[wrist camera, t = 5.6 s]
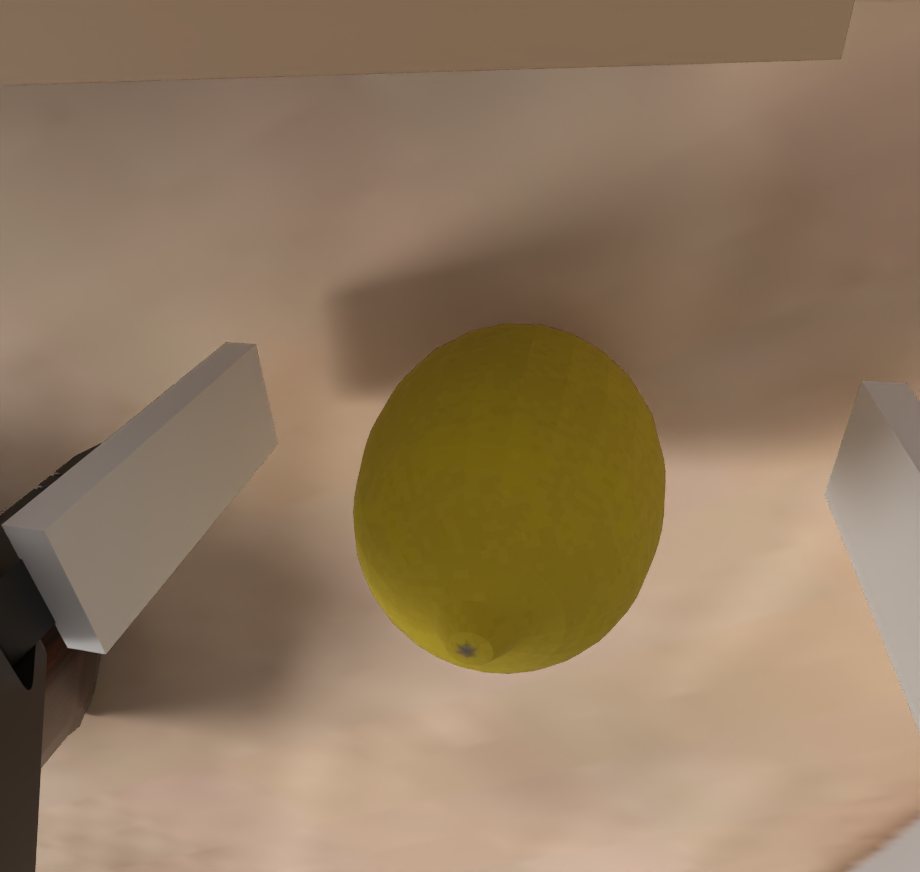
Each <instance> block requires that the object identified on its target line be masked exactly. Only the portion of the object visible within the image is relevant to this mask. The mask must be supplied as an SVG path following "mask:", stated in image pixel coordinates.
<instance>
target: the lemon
mask: <svg viewBox="0 0 920 872" xmlns="http://www.w3.org/2000/svg"><path fill="white" fill-rule="evenodd" d="M665 472H666V471H665V463H664V458H663V454H662V450H661V446H660V442H659V438H658V435H657V431H656V427H655V423H654V420H653V416H652V414H651V412H650V410H649V408H648V406H647V405H646V403H645V401H644V400H643V398H642V396H641V395H640V393H639V392H638V390H637V388H636V387H635V385H634V383H633V382H632V380H631V379H630V377H629V376H628V375H627V373H625V372H624V371H623V370H622V369H621V368H620V367H619V366H618V365H617V364H616V363H615V362H614V361H613V360H611V359H610V358H609V357H608V356H607V355H606V354H605V353H604V352H603V351H601V350H600V349H598V348H597V347H595V346H593V345H591V344H589V343H588V342H586V341H584V340H582V339H580V338H579V337H577V336H575V335H573V334H571V333H568V332H564V331H561V330H557V329H554V328H550V327H546V326H543V325H533V324H503V325H498V326H493V327H488V328H484V329H479V330H474V331H471V332H469V333H467V334H465V335H463V336H461V337H459V338H457V339H455V340H453V341H451V342H449V343H447V344H445V345H443V346H441V347H439V348H437V349H436V350H434V351H433V352H432V353H431V354H429V355H428V356H427V357H426V358H425V359H424V360H423V361H422V362H421V363H419V364H418V365H417V366H416V367H415V368H414V369H413V370H412V371H411V372H410V373H409V374H407V375H406V376H405V378H404V379H403V380H402V381H401V382H400V383H399V384H398V386H397V387H396V389H395V390H394V391H393V393H392V395H391V396H390V398H389V400H388V401H387V403H386V405H385V406H384V408H383V410H382V411H381V413H380V415H379V416H378V418H377V420H376V422H375V424H374V426H373V428H372V430H371V432H370V435H369V437H368V440H367V443H366V447H365V450H364V454H363V458H362V463H361V467H360V472H359V476H358V481H357V486H356V491H355V497H354V510H353V516H354V529H355V538H356V547H357V555H358V558H359V562H360V565H361V568H362V571H363V573H364V575H365V578H366V580H367V583H368V585H369V588H370V590H371V592H372V594H373V595H374V597H375V599H376V600H377V602H378V603H379V605H380V606H381V607H382V609H383V610H384V611H385V613H386V614H387V616H388V617H389V618H390V620H391V621H392V622H393V623H394V624H395V625H396V626H397V627H398V628H399V629H400V630H401V631H402V632H403V633H404V634H406V635H407V636H408V637H409V638H410V639H411V640H412V641H413V642H415V643H416V644H417V645H418V646H420V647H421V648H423V649H425V650H426V651H428V652H430V653H431V654H433V655H435V656H436V657H438V658H440V659H443V660H445V661H448V662H450V663H452V664H455V665H457V666H460V667H464V668H468V669H472V670H477V671H481V672H489V673H505V674H510V673H519V672H528V671H535V670H539V669H543V668H546V667H549V666H552V665H555V664H558V663H561V662H564V661H567V660H569V659H571V658H572V657H574V656H576V655H578V654H580V653H581V652H583V651H584V650H586V649H587V648H589V647H591V646H592V645H594V644H595V643H597V642H599V641H600V640H601V639H602V638H603V637H604V636H605V635H606V634H607V633H608V632H609V631H610V630H611V629H612V628H613V627H614V626H615V625H616V624H617V622H618V621H619V620H620V619H621V618H622V617H623V616H624V615H625V613H626V612H627V611H628V610H629V608H630V607H631V605H632V604H633V602H634V601H635V599H636V597H637V595H638V593H639V591H640V589H641V586H642V584H643V582H644V579H645V577H646V575H647V572H648V570H649V567H650V565H651V563H652V560H653V558H654V555H655V552H656V549H657V546H658V543H659V539H660V535H661V531H662V524H663V516H664V499H665Z"/></svg>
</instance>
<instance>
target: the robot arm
mask: <svg viewBox="0 0 920 872" xmlns="http://www.w3.org/2000/svg"><path fill="white" fill-rule="evenodd" d="M277 445H278V440H277V436H276V431H275V427H274V422H273V418H272V414H271V409H270V405H269V400H268V396H267V391H266V387H265V382H264V378H263V374H262V369H261V365H260V360H259V356H258V351H257V347H256V344H245V343H228V342H226V343H225V344H223V345H222V346H221V347H220V348H218V349H217V350H216V351H215V352H213V353H212V354H211V355H210V356H209V357H207V358H206V359H205V360H204V361H202V362H201V363H200V364H199V365H197V366H196V367H195V368H194V369H193V370H191V371H190V372H189V373H188V374H186V375H185V376H184V377H183V378H181V379H180V380H179V381H178V382H177V383H175V384H174V385H173V386H172V387H170V388H169V389H168V390H167V391H165V392H164V393H163V394H162V395H161V396H159V397H158V398H157V399H156V400H154V401H153V402H152V403H151V404H150V405H148V406H147V407H146V408H145V409H143V410H142V411H141V412H140V413H138V414H137V415H136V416H135V417H134V418H132V419H131V420H130V421H129V422H127V423H126V424H125V425H124V426H122V427H121V428H120V429H119V430H118V431H116V432H115V433H114V434H113V435H111V436H110V437H109V438H108V439H106V440H105V441H104V442H103V443H100V444H98V445H96V446H94V447H92V448H90V449H88V450H86V451H84V452H82V453H80V454H78V455H76V456H75V457H73V458H72V459H71V460H70V461H68V462H67V463H66V464H65V465H63V466H62V467H61V468H59V469H58V470H57V471H56V472H54V473H55V475H54V476H49V477H48V478H47V479H46V480H44V481H43V482H42V483H41V484H39V485H38V489H33V490H32V491H31V492H29V493H28V494H27V495H26V496H24V497H23V498H22V499H21V500H19V501H18V502H17V503H16V504H14V505H13V506H12V507H11V508H9V509H8V510H7V511H6V512H4V513H3V514H2V515H1V516H0V872H35V865H36V847H37V829H38V810H39V792H40V774H41V756H42V737H43V719H44V701H45V683H46V664H47V654H46V650H45V647H44V645H43V643H42V641H41V640H40V639H41V638H42V637H43V636H44V635H45V633H46V632H47V631H48V630H49V629H50V628H51V627H52V626H53V625H54V624H55V625H56V627H57V629H58V631H59V633H60V635H61V636H62V638H63V640H64V642H65V644H66V646H67V648H72V649H78V650H84V651H89V652H95V653H101V654H107V652H108V651H109V650H110V649H111V648H112V646H113V645H114V644H115V643H116V641H117V640H118V639H119V638H120V637H121V635H122V634H123V633H124V632H125V631H126V629H127V628H128V627H129V626H130V624H131V623H132V622H133V621H134V620H135V618H136V617H137V616H138V615H139V613H140V612H141V611H142V610H143V609H144V607H145V606H146V605H147V604H148V602H149V601H150V600H151V599H152V598H153V596H154V595H155V594H156V593H157V591H158V590H159V589H160V588H161V587H162V585H163V584H164V583H165V582H166V580H167V579H168V578H169V577H170V576H171V574H172V573H173V572H174V571H175V569H176V568H177V567H178V566H179V565H180V563H181V562H182V561H183V560H184V558H185V557H186V556H187V555H188V554H189V552H190V551H191V550H192V549H193V547H194V546H195V545H196V544H197V543H198V541H199V540H200V539H201V538H202V537H203V535H204V534H205V533H206V532H207V530H208V529H209V528H210V527H211V526H212V524H213V523H214V522H215V521H216V519H217V518H218V517H219V516H220V515H221V513H222V512H223V511H224V510H225V508H226V507H227V506H228V505H229V504H230V502H231V501H232V500H233V499H234V497H235V496H236V495H237V494H238V493H239V491H240V490H241V489H242V488H243V486H244V485H245V484H246V483H247V482H248V480H249V479H250V478H251V477H252V475H253V474H254V473H255V472H256V471H257V469H258V468H259V467H260V466H261V464H262V463H263V462H264V461H265V460H266V458H267V457H268V456H269V455H270V453H271V452H272V451H273V450H274V449H275V447H276V446H277ZM825 497H826V500H827V502H828V505H829V507H830V510H831V512H832V515H833V517H834V520H835V522H836V525H837V527H838V530H839V532H840V535H841V537H842V540H843V542H844V545H845V547H846V550H847V552H848V555H849V557H850V560H851V562H852V565H853V567H854V570H855V572H856V575H857V577H858V580H859V582H860V585H861V588H862V590H863V593H864V595H865V598H866V600H867V603H868V605H869V608H870V610H871V613H872V615H873V618H874V620H875V623H876V625H877V628H878V630H879V633H880V635H881V638H882V640H883V643H884V645H885V648H886V650H887V653H888V655H889V658H890V660H891V663H892V665H893V668H894V670H895V673H896V675H897V678H898V680H899V683H900V685H901V688H902V690H903V693H904V695H905V698H906V700H907V703H908V705H909V708H910V710H911V713H912V715H913V718H914V720H915V723H916V725H917V728H918V730H919V733H920V401H919V400H918V398H917V397H916V396H915V394H914V393H913V391H912V390H911V389H910V387H909V386H908V385H907V383H896V382H880V381H863V380H862V381H861V384H860V388H859V391H858V394H857V397H856V400H855V403H854V406H853V409H852V412H851V415H850V418H849V421H848V424H847V427H846V430H845V433H844V437H843V440H842V443H841V446H840V449H839V452H838V455H837V458H836V461H835V464H834V467H833V470H832V473H831V476H830V479H829V483H828V486H827V489H826V492H825Z"/></svg>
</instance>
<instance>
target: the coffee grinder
mask: <svg viewBox="0 0 920 872" xmlns="http://www.w3.org/2000/svg"><path fill="white" fill-rule="evenodd" d="M40 640H41V641H42V643H43V645H44V647H45V650H46V654H47V664H46V683H45V701H44V719H43V737H42V756H41V767H42V766H43V765H44V764H45V763H46V761H47V760H48V759H49V758H50V757H51V755H52V754H53V753H54V752H55V751H56V749H57V748H58V747H59V746H60V745H61V743H62V742H63V741H64V740H65V739H66V737H67V736H68V735H70V734H71V733H72V732H73V731H74V730H76V729H77V728H78V727H79V726H80V724H81V722H82V719H83V717H84V714H85V712H86V709H87V707H88V705H89V702H90V700H91V698H92V695H93V693H94V689H95V683H96V678H97V672H98V667H99V661H100V655H101V653H95V652H89V651H84V650H78V649H72V648H67V646H66V644H65V642H64V640H63V638H62V636H61V635H60V633H59V631H58V629H57V627H56V625H55V624H54V625H53V626H52V627H51V628H50V629H49V630H48V631H47V632H46V633H45V635H44V636H43V637H42V638H41V639H40Z"/></svg>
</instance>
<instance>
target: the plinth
mask: <svg viewBox="0 0 920 872" xmlns="http://www.w3.org/2000/svg"><path fill="white" fill-rule="evenodd" d="M854 1H855V0H0V85H27V84H59V83H92V82H124V81H156V80H188V79H220V78H253V77H285V76H317V75H349V74H382V73H414V72H446V71H478V70H510V69H543V68H575V67H607V66H639V65H671V64H704V63H736V62H768V61H800V60H833V59H841V56H842V52H843V48H844V44H845V40H846V35H847V31H848V27H849V23H850V18H851V14H852V10H853V6H854Z"/></svg>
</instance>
